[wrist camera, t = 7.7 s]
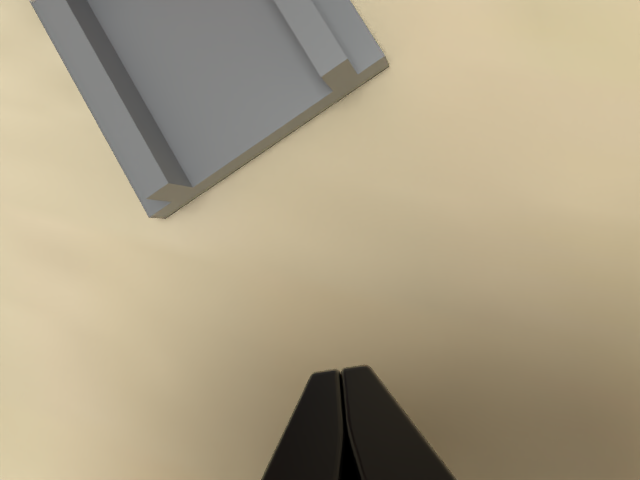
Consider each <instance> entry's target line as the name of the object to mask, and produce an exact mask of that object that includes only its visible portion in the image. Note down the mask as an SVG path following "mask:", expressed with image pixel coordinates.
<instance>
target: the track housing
mask: <svg viewBox="0 0 640 480" xmlns="http://www.w3.org/2000/svg"><path fill="white" fill-rule="evenodd" d="M29 1H30V3H31V4H32V6H33V8H34V10H35V12H36V14H37V15H38V17H39V19H40V21H41V23H42V24H43V26H44V28H45V30H46V32H47V33H48V35H49V37H50V39H51V41H52V43H53V44H54V46H55V48H56V50H57V52H58V53H59V55H60V57H61V59H62V61H63V62H64V64H65V66H66V68H67V70H68V72H69V73H70V75H71V77H72V79H73V81H74V82H75V84H76V86H77V88H78V90H79V91H80V93H81V95H82V97H83V99H84V101H85V102H86V104H87V106H88V108H89V110H90V111H91V113H92V115H93V117H94V119H95V120H96V122H97V124H98V126H99V128H100V130H101V131H102V133H103V135H104V137H105V139H106V140H107V142H108V144H109V146H110V148H111V149H112V151H113V153H114V155H115V157H116V159H117V160H118V162H119V164H120V166H121V168H122V169H123V171H124V173H125V175H126V177H127V178H128V180H129V182H130V184H131V186H132V188H133V189H134V191H135V193H136V195H137V197H138V198H139V200H140V202H141V204H142V206H143V207H144V209H145V211H146V213H147V215H148V217H149V218H167V217H168V216H170V215H171V214H172V213H174V212H175V211H177V210H178V209H180V208H181V207H183V206H184V205H186V204H187V203H189V202H190V201H192V200H193V199H195V198H196V197H197V196H199V195H200V194H202V193H203V192H205V191H206V190H208V189H209V188H211V187H212V186H214V185H215V184H217V183H218V182H220V181H221V180H222V179H224V178H225V177H227V176H228V175H230V174H231V173H233V172H234V171H236V170H237V169H239V168H240V167H242V166H243V165H245V164H246V163H247V162H249V161H250V160H252V159H253V158H255V157H256V156H258V155H259V154H261V153H262V152H264V151H265V150H267V149H268V148H270V147H271V146H272V145H274V144H275V143H277V142H278V141H280V140H281V139H283V138H284V137H286V136H287V135H289V134H290V133H292V132H293V131H294V130H296V129H297V128H299V127H300V126H302V125H303V124H305V123H306V122H308V121H309V120H311V119H312V118H314V117H315V116H317V115H318V114H319V113H321V112H322V111H324V110H325V109H327V108H328V107H330V106H331V105H333V104H334V103H336V102H337V101H339V100H340V99H342V98H343V97H344V96H346V95H347V94H349V93H350V92H352V91H353V90H355V89H356V88H358V87H359V86H361V85H362V84H364V83H365V82H367V81H368V80H369V79H371V78H372V77H374V76H375V75H377V74H378V73H380V72H381V71H383V70H384V69H386V68H387V67H389V64H388V62H387V59H386V57H385V55H384V53H383V52H382V50H381V49H380V47H379V45H378V44H377V42H376V41H375V39H374V38H373V36H372V34H371V33H370V31H369V30H368V28H367V26H366V25H365V23H364V22H363V20H362V19H361V17H360V15H359V14H358V12H357V11H356V9H355V8H354V6H353V4H352V3H351V1H350V0H29Z"/></svg>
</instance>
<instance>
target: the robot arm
mask: <svg viewBox="0 0 640 480" xmlns="http://www.w3.org/2000/svg"><path fill="white" fill-rule="evenodd" d="M261 480H456V478H455V477H454V476H453V474H452V473H451V472H450V470H449V469H448V468H447V467H446V465H445V464H444V463H443V461H442V460H441V459H440V457H439V456H438V455H437V453H436V452H435V451H434V450H433V448H432V447H431V446H430V444H429V443H428V442H427V440H426V439H425V438H424V436H423V435H422V434H421V432H420V431H419V430H418V429H417V427H416V426H415V425H414V423H413V422H412V421H411V419H410V418H409V417H408V415H407V414H406V413H405V412H404V410H403V409H402V408H401V406H400V405H399V404H398V402H397V401H396V400H395V398H394V397H393V396H392V395H391V393H390V392H389V391H388V389H387V388H386V387H385V385H384V384H383V383H382V381H381V380H380V379H379V378H378V376H377V375H376V374H375V372H374V371H373V370H372V368H371V367H369V366H368V365H360V366H353V367H346V368H343V369H342V371H341V373H340V371H339V370H337V369H333V370H326V371H319V372H314V373H313V374H312V375H311V376H310V378H309V380H308V382H307V384H306V386H305V388H304V391H303V393H302V395H301V397H300V399H299V401H298V403H297V405H296V407H295V409H294V411H293V414H292V416H291V418H290V420H289V422H288V424H287V426H286V428H285V430H284V432H283V435H282V437H281V439H280V441H279V443H278V445H277V447H276V449H275V451H274V453H273V455H272V458H271V460H270V462H269V464H268V466H267V468H266V470H265V472H264V474H263V476H262V478H261Z"/></svg>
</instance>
